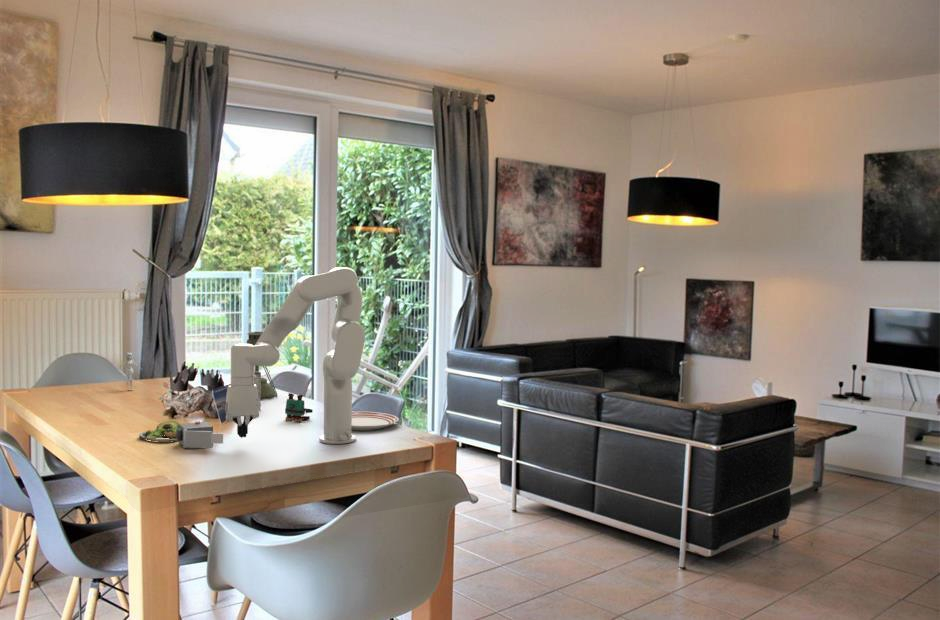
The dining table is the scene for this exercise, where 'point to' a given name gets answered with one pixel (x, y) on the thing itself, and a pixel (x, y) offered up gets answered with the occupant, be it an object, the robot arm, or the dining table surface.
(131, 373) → the human figurine
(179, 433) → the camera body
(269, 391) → the green desk lamp
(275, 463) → the dining table surface
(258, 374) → the coffee box
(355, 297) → the robot arm
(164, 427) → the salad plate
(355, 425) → the dinner plate
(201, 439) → the side door
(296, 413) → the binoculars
